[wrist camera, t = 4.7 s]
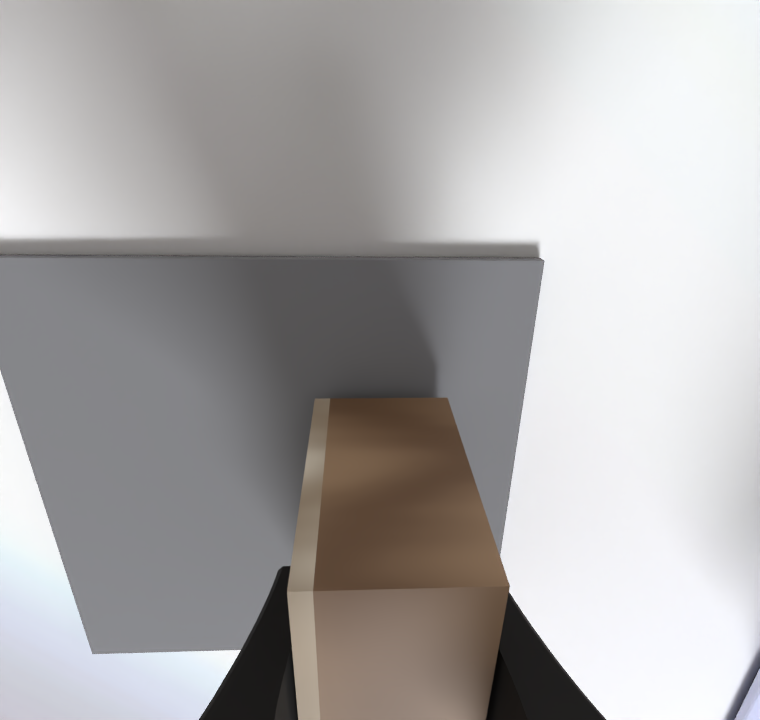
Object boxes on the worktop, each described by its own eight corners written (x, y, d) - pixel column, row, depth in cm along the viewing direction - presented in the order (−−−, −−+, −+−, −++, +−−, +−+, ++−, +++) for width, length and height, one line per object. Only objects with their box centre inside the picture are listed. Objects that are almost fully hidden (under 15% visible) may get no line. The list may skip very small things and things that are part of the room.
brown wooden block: (447, 397, 13) (509, 586, 8) (429, 606, 17) (464, 837, 11) (314, 398, 13) (287, 592, 8) (324, 609, 17) (309, 844, 11)
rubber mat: (540, 257, 13) (544, 260, 13) (484, 635, 19) (486, 642, 18) (-28, 254, 12) (-37, 257, 12) (96, 645, 18) (92, 654, 18)
